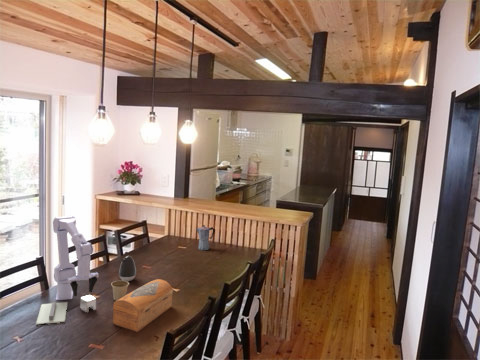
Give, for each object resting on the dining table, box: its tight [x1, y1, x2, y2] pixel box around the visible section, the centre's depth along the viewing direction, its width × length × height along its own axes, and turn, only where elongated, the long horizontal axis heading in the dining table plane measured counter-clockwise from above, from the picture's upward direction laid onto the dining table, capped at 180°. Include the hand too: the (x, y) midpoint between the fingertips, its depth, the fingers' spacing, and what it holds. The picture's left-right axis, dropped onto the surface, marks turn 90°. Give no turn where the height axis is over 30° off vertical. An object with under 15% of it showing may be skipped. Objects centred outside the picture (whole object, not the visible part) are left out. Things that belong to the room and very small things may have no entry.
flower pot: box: [110, 280, 130, 301], centre depth 203 cm, size 9×9×9 cm
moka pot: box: [195, 224, 215, 251], centre depth 303 cm, size 10×15×20 cm, turn 107°
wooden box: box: [112, 278, 174, 332], centre depth 188 cm, size 30×16×14 cm, turn 158°
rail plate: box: [35, 300, 68, 325], centre depth 182 cm, size 20×12×3 cm, turn 21°
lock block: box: [79, 294, 97, 313], centre depth 189 cm, size 6×5×6 cm
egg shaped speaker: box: [118, 255, 137, 282], centre depth 229 cm, size 10×10×15 cm
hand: (83, 293), depth 185 cm, fingers open, 7 cm apart
